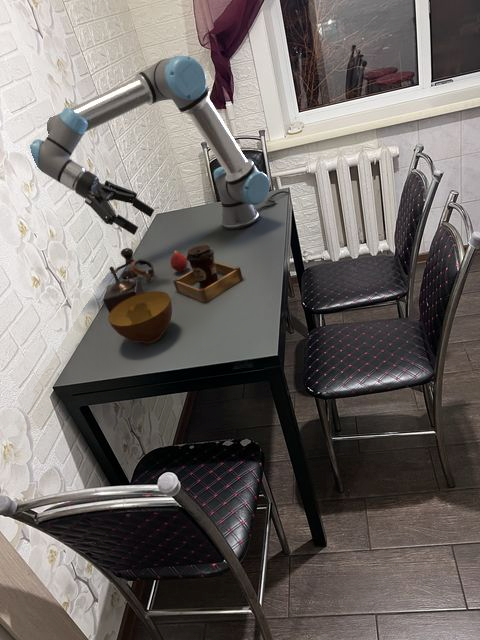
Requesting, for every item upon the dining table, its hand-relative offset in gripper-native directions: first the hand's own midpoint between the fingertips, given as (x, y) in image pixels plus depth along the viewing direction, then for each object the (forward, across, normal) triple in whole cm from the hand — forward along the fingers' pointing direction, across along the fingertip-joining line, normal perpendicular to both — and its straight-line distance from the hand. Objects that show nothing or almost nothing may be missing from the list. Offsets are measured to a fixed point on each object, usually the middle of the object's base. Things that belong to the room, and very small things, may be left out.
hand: (144, 222), depth 143 cm
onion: (+17, -13, -17) cm, 28 cm away
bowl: (+20, +27, -15) cm, 37 cm away
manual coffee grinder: (+10, +10, -24) cm, 28 cm away
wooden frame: (+27, 0, -7) cm, 28 cm away
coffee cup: (+27, 0, -7) cm, 28 cm away
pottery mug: (+7, -10, -28) cm, 30 cm away
